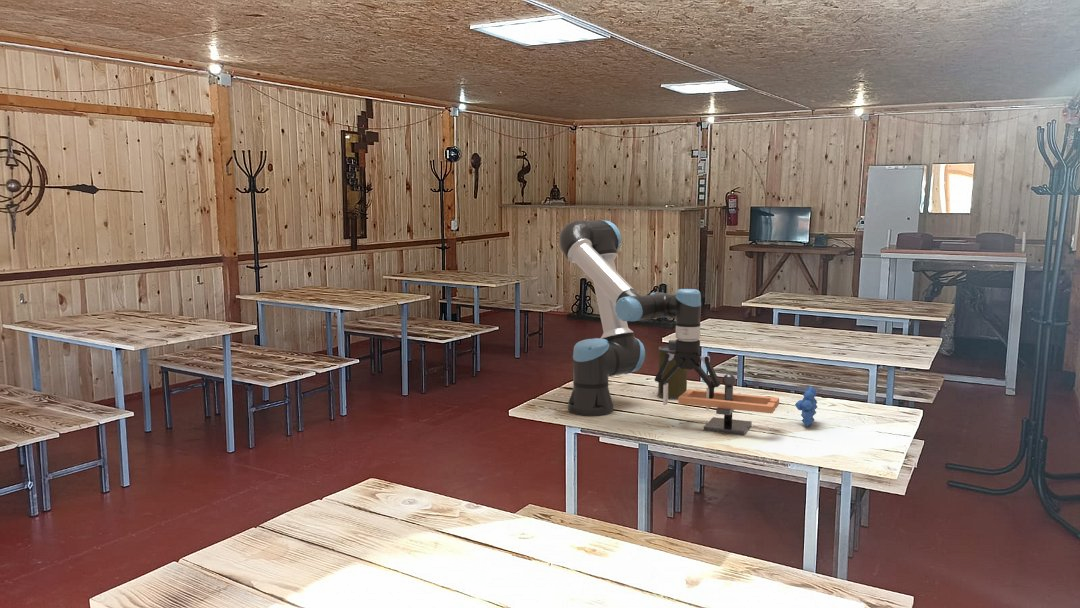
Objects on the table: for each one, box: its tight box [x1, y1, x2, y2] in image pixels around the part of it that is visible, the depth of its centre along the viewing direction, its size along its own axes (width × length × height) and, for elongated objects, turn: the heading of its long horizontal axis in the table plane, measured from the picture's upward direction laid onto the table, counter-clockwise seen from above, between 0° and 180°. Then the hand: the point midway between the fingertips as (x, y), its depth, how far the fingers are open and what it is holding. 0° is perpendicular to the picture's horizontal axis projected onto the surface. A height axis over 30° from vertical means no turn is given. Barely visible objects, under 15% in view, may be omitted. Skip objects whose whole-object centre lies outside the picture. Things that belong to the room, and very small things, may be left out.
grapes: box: [794, 385, 818, 427], centre depth 245 cm, size 12×7×12 cm, turn 152°
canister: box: [657, 339, 688, 400], centre depth 282 cm, size 11×10×20 cm
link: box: [677, 388, 780, 414], centre depth 241 cm, size 28×12×2 cm, turn 64°
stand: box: [703, 373, 753, 436], centre depth 241 cm, size 12×15×17 cm
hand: (686, 406), depth 247 cm, fingers open, 13 cm apart
